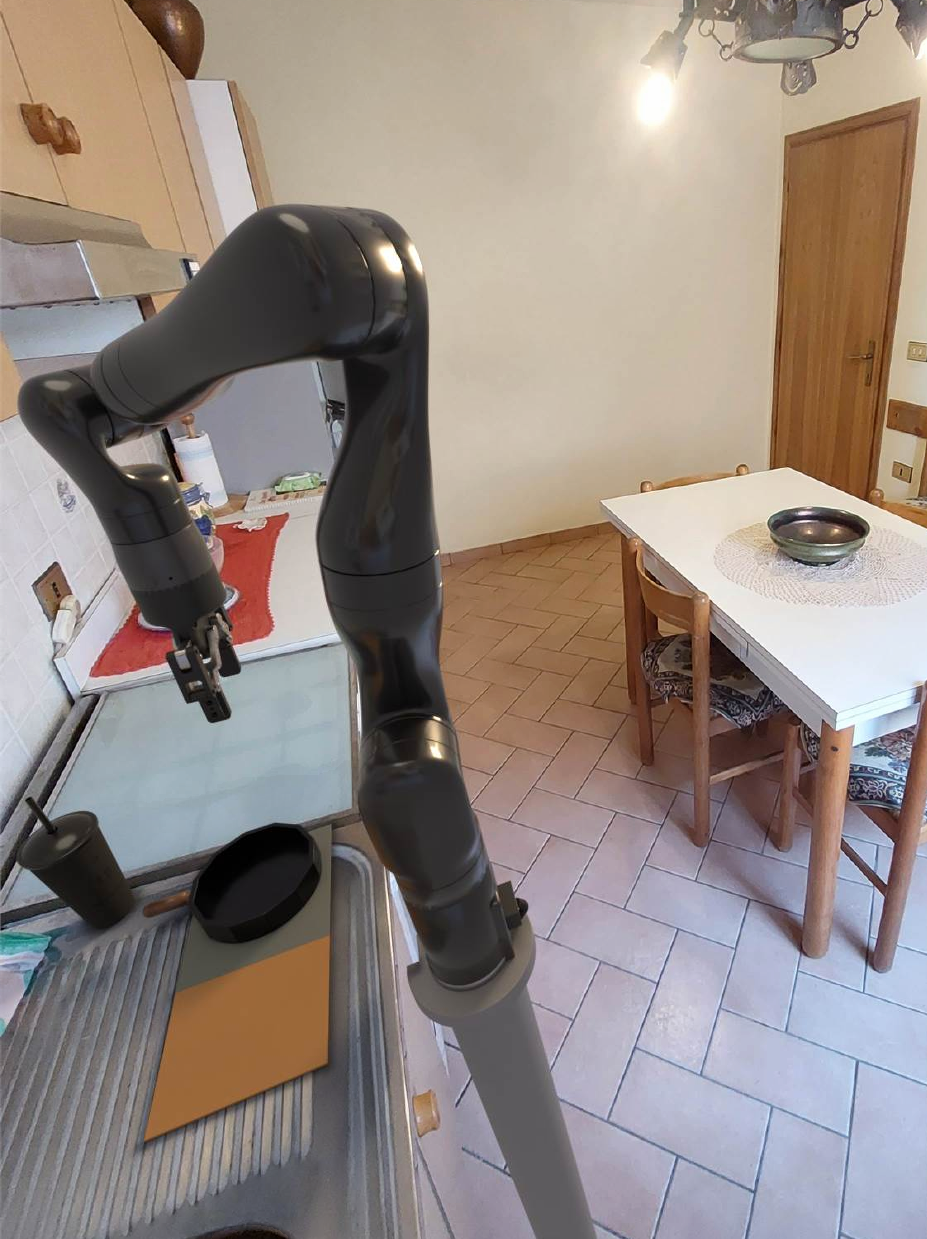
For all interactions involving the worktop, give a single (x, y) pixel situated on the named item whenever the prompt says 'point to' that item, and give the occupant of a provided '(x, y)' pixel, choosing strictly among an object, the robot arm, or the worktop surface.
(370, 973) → the worktop surface
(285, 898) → the skillet
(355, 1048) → the worktop surface
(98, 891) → the drinking cup
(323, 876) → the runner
